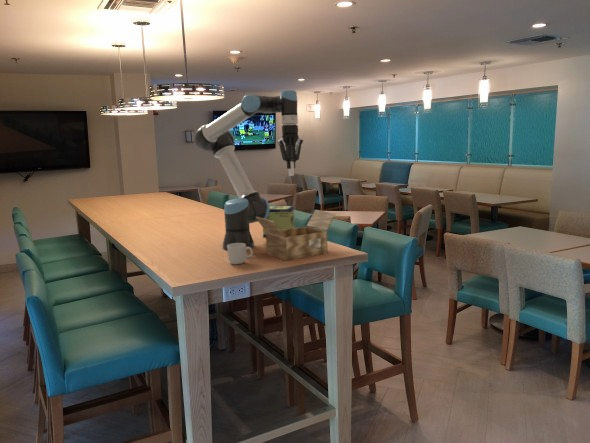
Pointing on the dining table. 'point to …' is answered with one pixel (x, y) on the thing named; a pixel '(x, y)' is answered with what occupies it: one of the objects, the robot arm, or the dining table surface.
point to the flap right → (321, 219)
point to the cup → (238, 253)
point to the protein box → (281, 217)
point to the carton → (297, 243)
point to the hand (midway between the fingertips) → (291, 175)
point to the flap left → (269, 226)
